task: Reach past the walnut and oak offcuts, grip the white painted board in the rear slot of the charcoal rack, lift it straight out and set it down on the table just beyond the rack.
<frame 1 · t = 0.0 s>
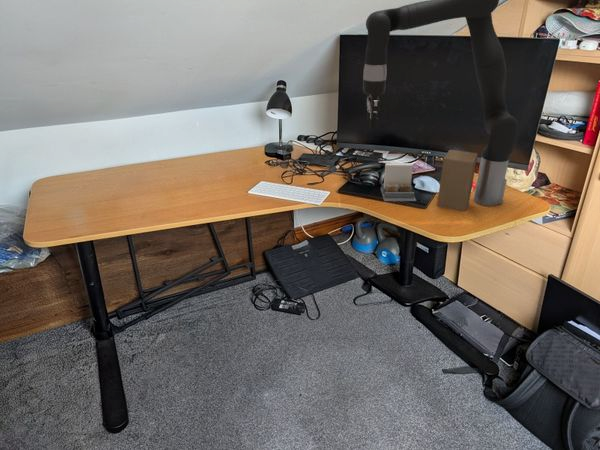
hand: (371, 125, 159), 29 cm above the table, tool pointing down, fingers open, 8 cm apart
walnut offcut: (404, 195, 174), point 1 cm above the table, touching charcoal rack
wooden block: (452, 207, 168), on the table
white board: (396, 190, 178), point 1 cm above the table, touching charcoal rack
oak offcut: (391, 195, 174), point 1 cm above the table, touching charcoal rack
charcoal rack: (397, 197, 176), on the table
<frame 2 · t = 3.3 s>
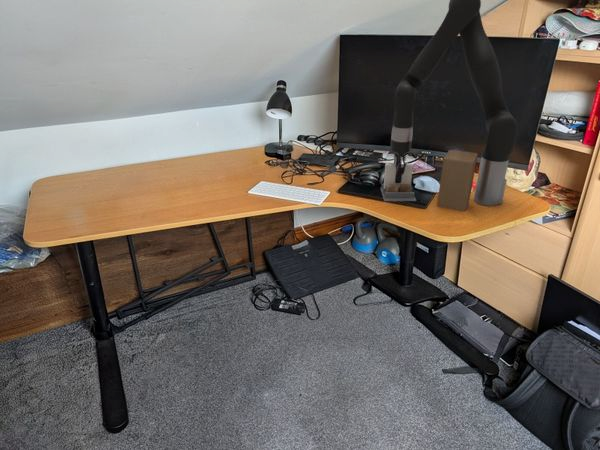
hand: (397, 181, 176), 6 cm above the table, tool pointing down, fingers closed on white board, 2 cm apart
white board: (396, 190, 178), point 2 cm above the table, touching charcoal rack, gripper
everything else where it was.
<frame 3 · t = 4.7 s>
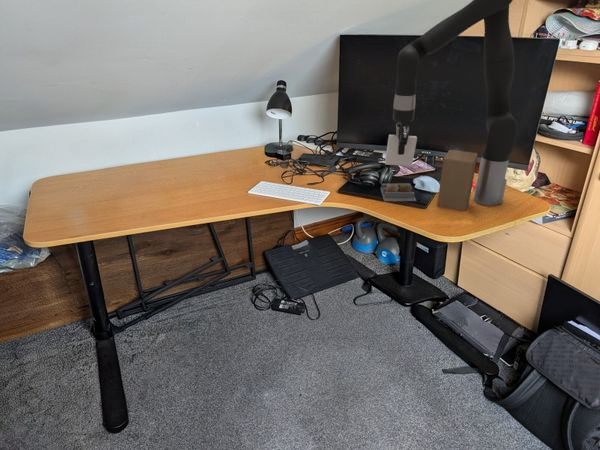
hand: (400, 153, 170), 17 cm above the table, tool pointing down, fingers closed on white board
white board: (398, 164, 172), point 13 cm above the table, touching gripper
everything else where it was.
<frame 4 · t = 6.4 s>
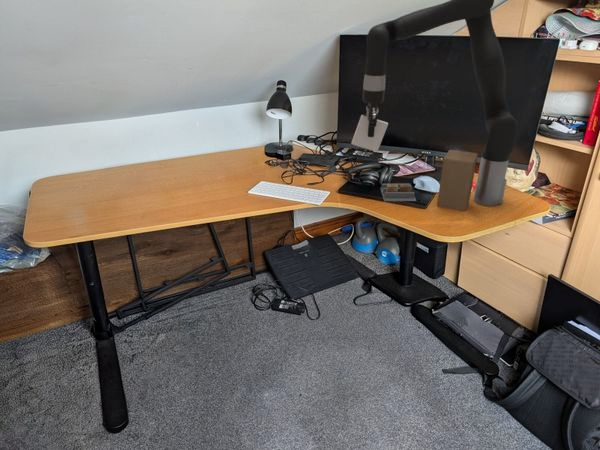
hand: (370, 135, 167), 24 cm above the table, tool pointing down, fingers closed on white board
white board: (364, 147, 170), point 19 cm above the table, tilted 17°, touching gripper
everything else where it was.
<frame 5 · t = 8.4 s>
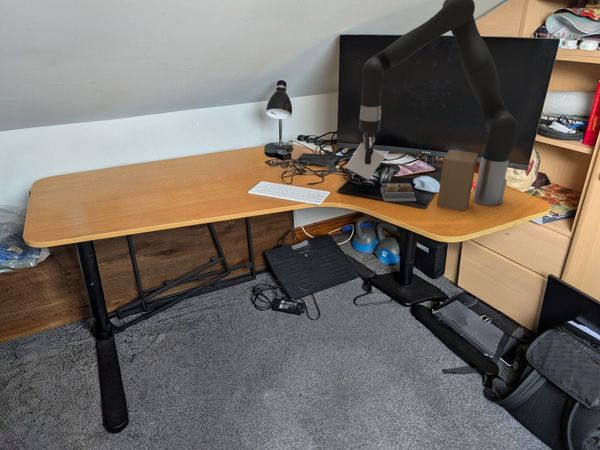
hand: (367, 162, 172), 13 cm above the table, tool pointing down, fingers closed on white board
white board: (357, 173, 175), point 9 cm above the table, tilted 30°, touching gripper
everything else where it was.
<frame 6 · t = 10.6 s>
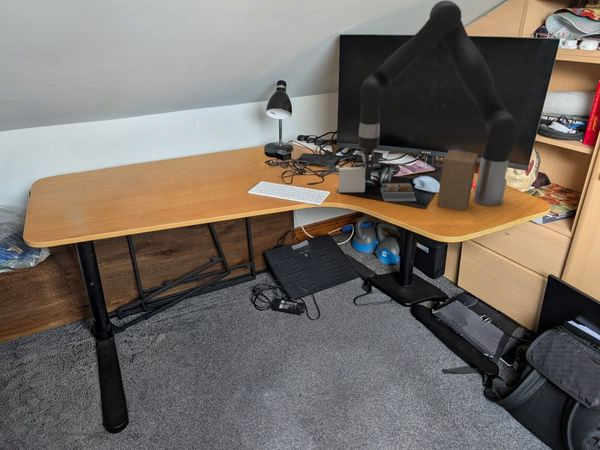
hand: (366, 175, 175), 8 cm above the table, tool pointing down, fingers open, 8 cm apart
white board: (351, 194, 179), on the table
everything else where it was.
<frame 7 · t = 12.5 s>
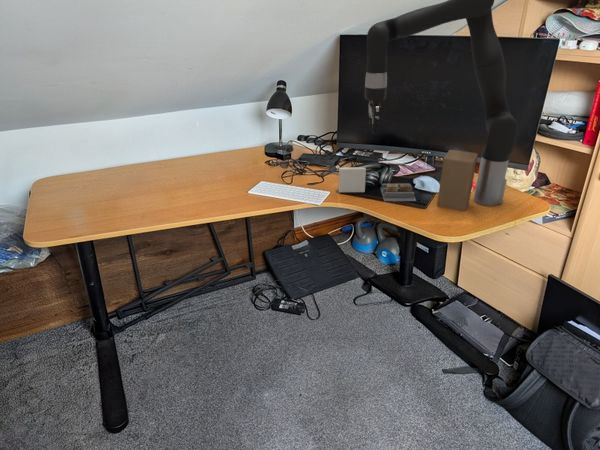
hand: (373, 130, 168), 25 cm above the table, tool pointing down, fingers open, 8 cm apart
nothing on the table moved.
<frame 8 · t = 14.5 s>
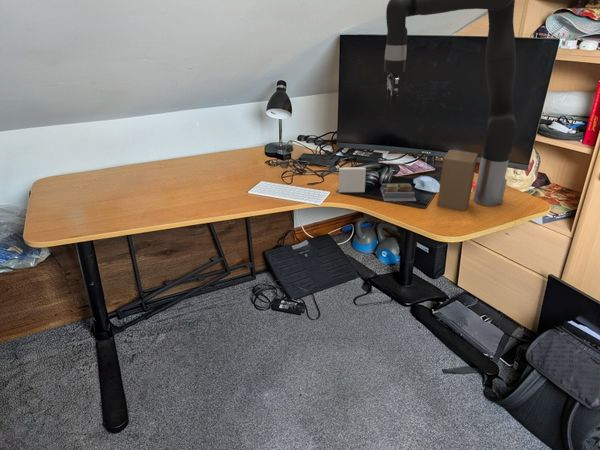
hand: (391, 103, 171), 33 cm above the table, tool pointing down, fingers open, 8 cm apart
nothing on the table moved.
at the end: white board inside the target area (5.6 cm from its centre), on the table; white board touching table; the gripper is holding nothing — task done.
